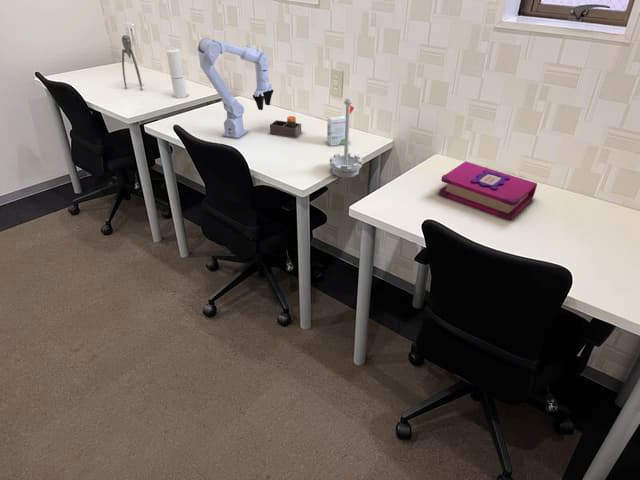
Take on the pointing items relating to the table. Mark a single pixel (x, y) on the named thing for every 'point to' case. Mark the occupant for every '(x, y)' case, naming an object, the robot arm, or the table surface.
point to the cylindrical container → (176, 73)
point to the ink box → (336, 130)
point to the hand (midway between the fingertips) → (264, 107)
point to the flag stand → (346, 152)
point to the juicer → (128, 50)
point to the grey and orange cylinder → (291, 121)
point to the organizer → (284, 129)
